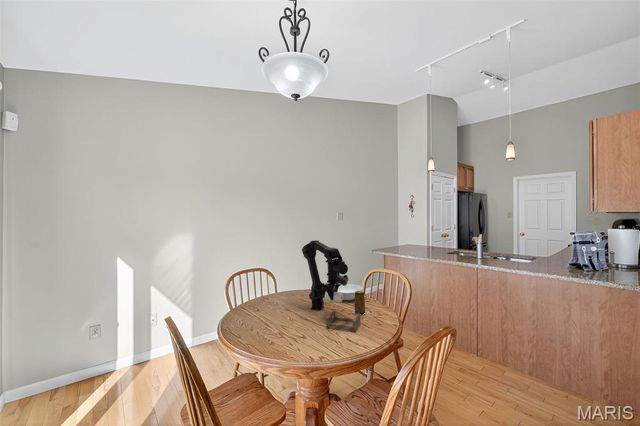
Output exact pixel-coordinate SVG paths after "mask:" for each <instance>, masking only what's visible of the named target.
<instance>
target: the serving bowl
mask: <svg viewBox="0 0 640 426" xmlns="http://www.w3.org/2000/svg"><path fill="white" fill-rule="evenodd" d="M363 289H364V288H363V287H362V286H360V285H358V284H352V283H351V284H349V283H347V285H346V286H343V285H342V284H341V285H340V286H339V288H338V291H337V292H342V293H343V300H342V301H352V300H354V297H355V292H356V291H363ZM363 292H364V291H363Z"/></svg>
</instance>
